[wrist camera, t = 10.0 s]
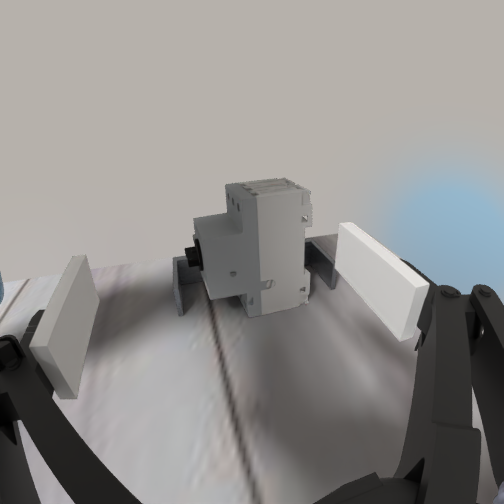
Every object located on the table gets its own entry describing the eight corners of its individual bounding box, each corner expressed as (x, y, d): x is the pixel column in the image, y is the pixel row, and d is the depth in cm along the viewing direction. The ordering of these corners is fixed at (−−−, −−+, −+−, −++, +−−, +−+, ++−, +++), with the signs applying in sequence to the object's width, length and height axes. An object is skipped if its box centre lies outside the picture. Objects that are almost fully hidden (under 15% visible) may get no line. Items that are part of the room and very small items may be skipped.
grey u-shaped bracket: (178, 316, 40) (173, 289, 38) (177, 280, 48) (172, 257, 46) (335, 288, 44) (337, 263, 42) (310, 260, 52) (311, 237, 50)
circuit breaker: (191, 296, 44) (176, 191, 37) (286, 277, 47) (286, 177, 41) (200, 328, 37) (181, 208, 31) (308, 303, 41) (312, 190, 34)
